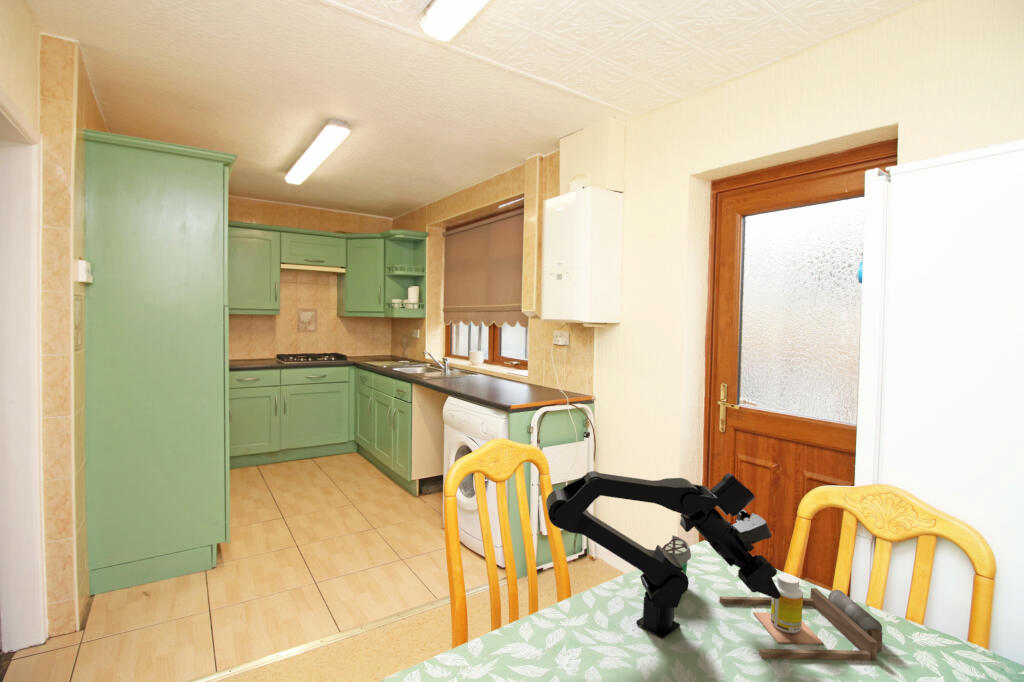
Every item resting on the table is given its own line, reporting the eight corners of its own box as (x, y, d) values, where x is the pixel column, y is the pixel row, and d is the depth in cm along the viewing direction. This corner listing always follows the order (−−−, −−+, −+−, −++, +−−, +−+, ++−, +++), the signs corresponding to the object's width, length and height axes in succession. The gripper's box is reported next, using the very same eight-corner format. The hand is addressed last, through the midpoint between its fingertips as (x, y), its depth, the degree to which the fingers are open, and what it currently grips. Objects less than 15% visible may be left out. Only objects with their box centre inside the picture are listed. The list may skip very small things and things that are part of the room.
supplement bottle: (807, 633, 103) (810, 583, 102) (784, 636, 101) (787, 586, 101) (786, 617, 108) (789, 570, 108) (764, 620, 107) (766, 572, 106)
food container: (679, 604, 113) (681, 560, 112) (652, 594, 116) (654, 551, 116) (696, 582, 122) (698, 541, 122) (671, 573, 126) (673, 534, 126)
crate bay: (761, 658, 95) (762, 630, 95) (719, 601, 114) (720, 578, 114) (896, 660, 95) (898, 632, 95) (832, 603, 114) (833, 580, 114)
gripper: (769, 522, 94) (824, 582, 95) (726, 488, 113) (772, 538, 113) (724, 562, 94) (780, 622, 95) (689, 522, 113) (735, 572, 114)
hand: (767, 585), depth 104 cm, fingers open, 9 cm apart
